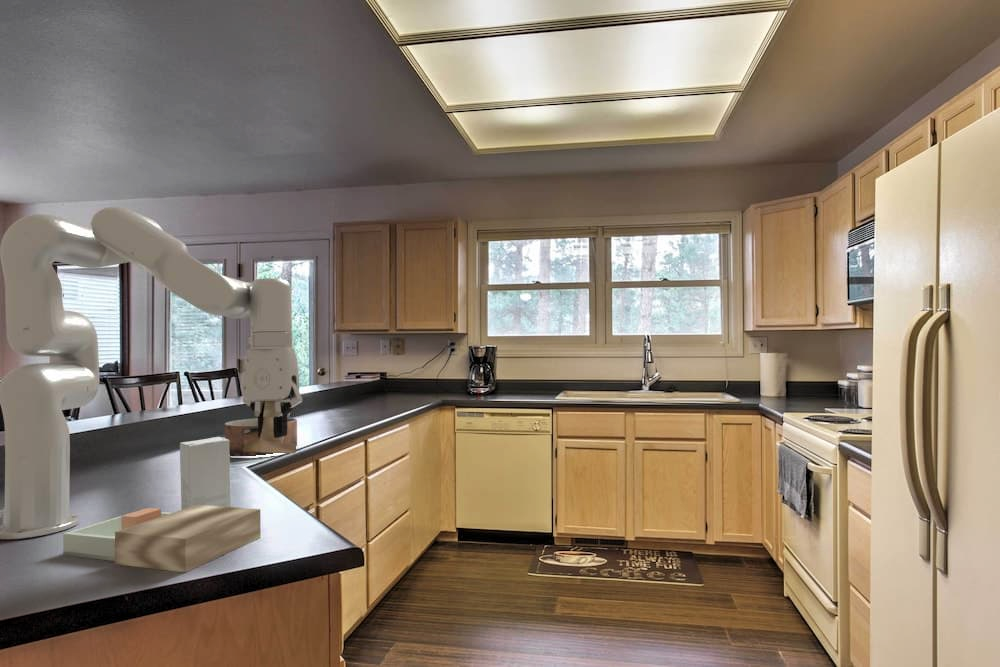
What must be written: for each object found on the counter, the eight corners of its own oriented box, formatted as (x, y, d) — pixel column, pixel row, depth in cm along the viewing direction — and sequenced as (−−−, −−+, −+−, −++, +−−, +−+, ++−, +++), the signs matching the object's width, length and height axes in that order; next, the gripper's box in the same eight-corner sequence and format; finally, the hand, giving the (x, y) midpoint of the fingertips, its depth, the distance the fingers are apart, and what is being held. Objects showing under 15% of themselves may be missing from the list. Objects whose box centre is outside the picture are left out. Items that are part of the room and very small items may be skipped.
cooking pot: (303, 456, 178) (303, 423, 179) (227, 464, 168) (227, 428, 168) (290, 444, 205) (290, 415, 205) (223, 450, 194) (223, 419, 194)
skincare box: (220, 504, 122) (220, 436, 122) (231, 508, 117) (231, 438, 118) (178, 512, 115) (178, 440, 116) (188, 518, 111) (188, 443, 112)
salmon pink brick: (134, 547, 93) (121, 545, 93) (160, 537, 97) (147, 536, 98) (135, 517, 93) (121, 516, 94) (161, 508, 98) (147, 507, 98)
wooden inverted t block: (243, 451, 103) (251, 392, 105) (278, 453, 112) (285, 398, 114) (261, 451, 101) (268, 392, 104) (295, 453, 111) (301, 398, 113)
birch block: (114, 564, 87) (115, 531, 87) (197, 531, 102) (197, 504, 102) (185, 572, 83) (185, 538, 83) (260, 537, 98) (260, 509, 98)
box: (63, 555, 91) (63, 533, 91) (140, 528, 105) (140, 510, 105) (118, 561, 88) (118, 539, 88) (190, 533, 101) (190, 514, 101)
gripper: (223, 343, 107) (223, 438, 106) (294, 340, 102) (296, 440, 102) (250, 343, 114) (251, 433, 113) (319, 341, 109) (320, 434, 109)
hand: (272, 435), depth 107 cm, fingers closed on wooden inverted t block, 2 cm apart
